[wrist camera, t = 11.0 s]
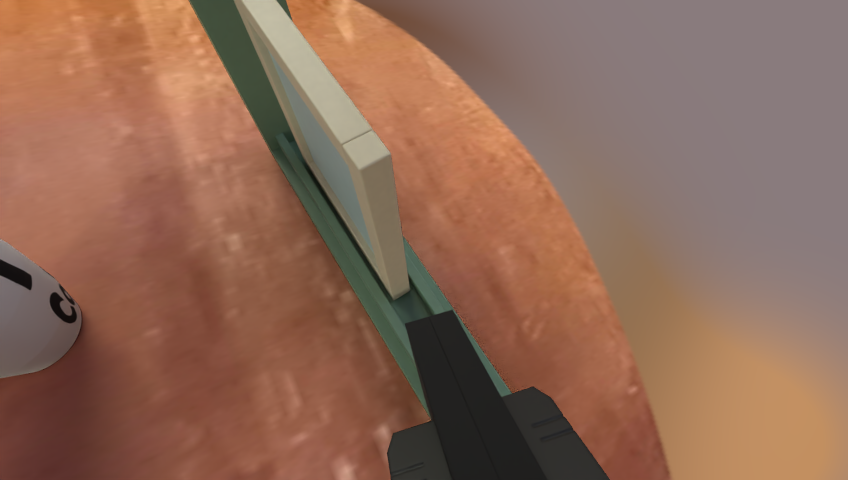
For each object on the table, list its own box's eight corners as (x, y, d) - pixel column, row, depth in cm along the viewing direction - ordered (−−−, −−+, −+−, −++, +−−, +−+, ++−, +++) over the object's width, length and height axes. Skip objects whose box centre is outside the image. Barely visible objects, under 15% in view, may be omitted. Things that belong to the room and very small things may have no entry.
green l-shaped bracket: (269, 150, 33) (128, -110, 18) (321, 124, 34) (231, -143, 19) (479, 500, 23) (573, 601, 8) (544, 450, 24) (746, 450, 9)
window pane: (304, 161, 30) (219, -31, 18) (320, 153, 31) (246, -41, 18) (393, 301, 26) (359, 170, 14) (410, 290, 26) (391, 153, 14)
